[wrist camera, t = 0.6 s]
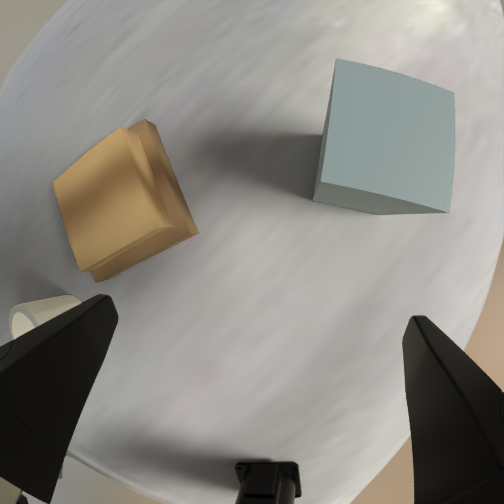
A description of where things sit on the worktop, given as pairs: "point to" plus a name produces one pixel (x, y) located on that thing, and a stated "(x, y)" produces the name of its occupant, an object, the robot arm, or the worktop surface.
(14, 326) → the shot glass
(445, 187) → the tall block
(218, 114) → the worktop surface
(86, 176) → the tower top
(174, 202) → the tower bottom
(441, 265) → the worktop surface
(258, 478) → the robot arm
